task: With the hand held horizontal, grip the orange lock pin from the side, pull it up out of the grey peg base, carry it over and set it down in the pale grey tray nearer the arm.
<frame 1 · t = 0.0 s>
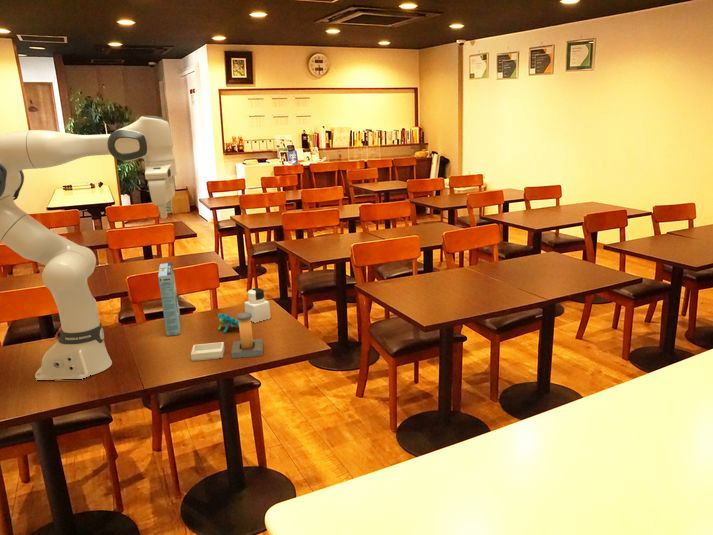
hand: (166, 215, 182), 48 cm above the table, tool pointing down, fingers open, 8 cm apart
lock pin: (245, 333, 196), in the grey peg base
tray: (208, 354, 196), on the table
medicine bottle: (258, 319, 228), on the table
gum box: (173, 327, 224), on the table
teal toy dinosaur: (230, 330, 218), on the table
grey peg base: (247, 351, 198), on the table
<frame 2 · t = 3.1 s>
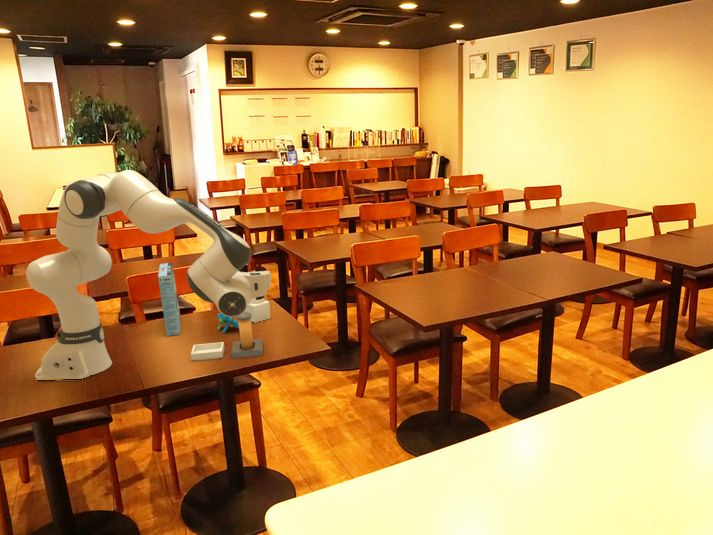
hand: (237, 274, 179), 30 cm above the table, tool horizontal, fingers open, 8 cm apart
nothing on the table moved.
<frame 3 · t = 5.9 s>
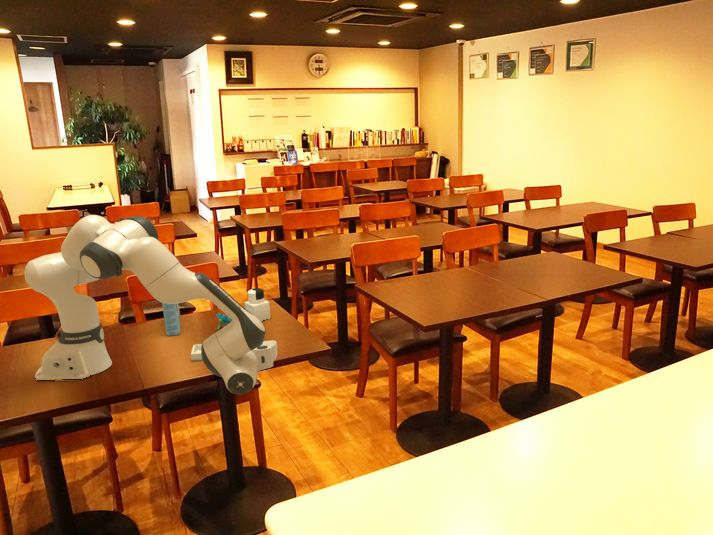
hand: (244, 342, 186), 7 cm above the table, tool horizontal, fingers open, 8 cm apart
nothing on the table moved.
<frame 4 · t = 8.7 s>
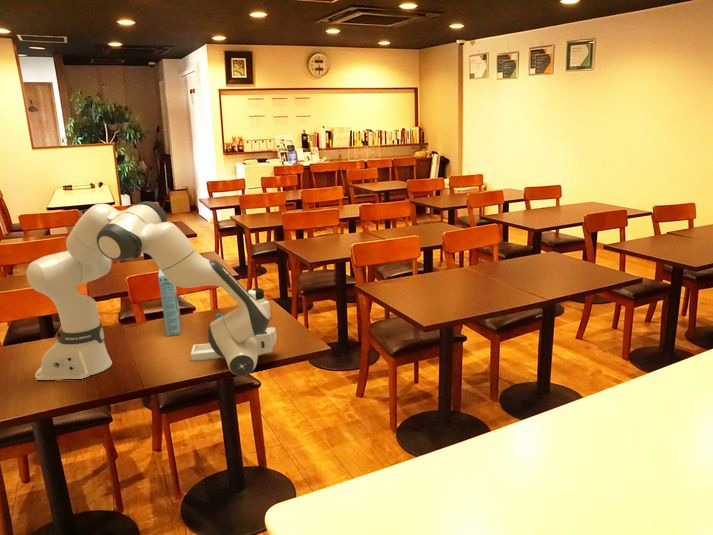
hand: (245, 329, 197), 8 cm above the table, tool horizontal, fingers closed on lock pin, 4 cm apart
lock pin: (245, 333, 196), in the grey peg base, touching gripper
everything else where it was.
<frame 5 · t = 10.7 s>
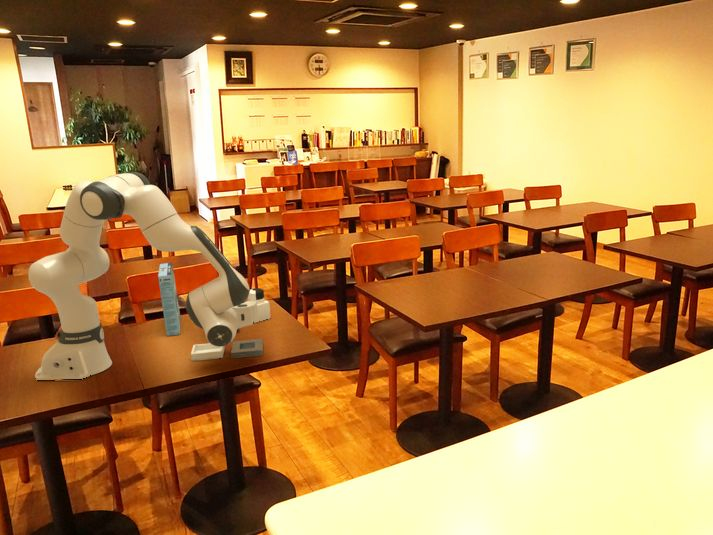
hand: (226, 303, 193), 17 cm above the table, tool horizontal, fingers closed on lock pin, 4 cm apart
lock pin: (226, 307, 193), point 16 cm above the table, touching gripper
when the fingers open (10 cm above the table, at t = 13.2 s): lock pin drops 2 cm, resting on tray.
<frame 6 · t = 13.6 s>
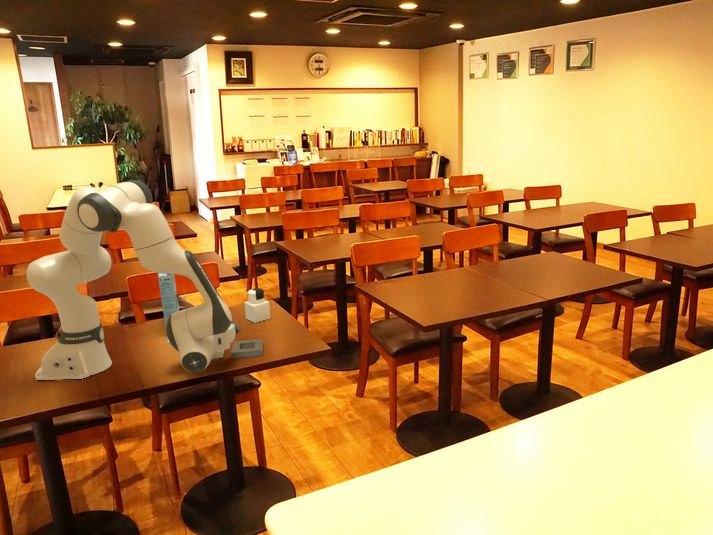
hand: (205, 326, 194), 10 cm above the table, tool horizontal, fingers open, 8 cm apart
lock pin: (205, 335, 194), in the tray, point 7 cm above the table
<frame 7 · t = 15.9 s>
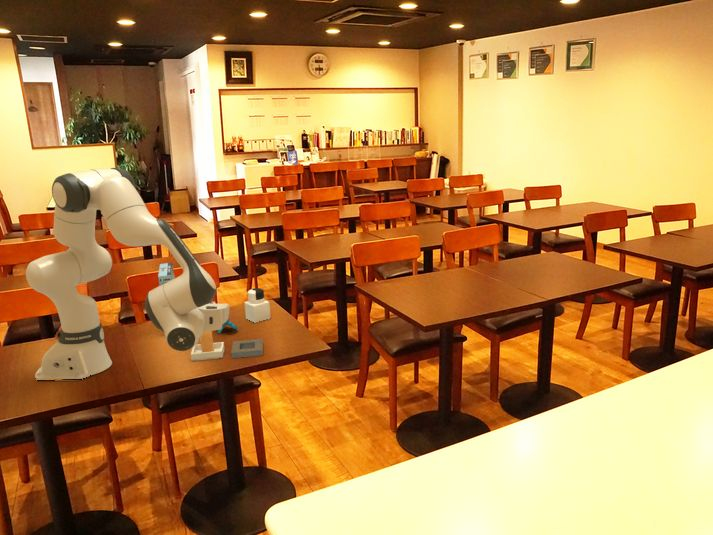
hand: (197, 304, 178), 22 cm above the table, tool horizontal, fingers open, 8 cm apart
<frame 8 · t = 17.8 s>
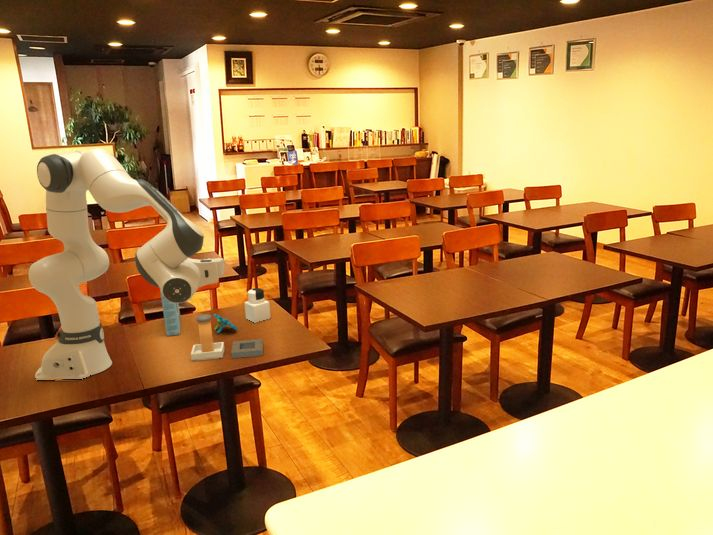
hand: (191, 262, 176), 35 cm above the table, tool horizontal, fingers open, 8 cm apart
at the end: lock pin inside the target area on the tray (0.0 cm from its centre), point 7.1 cm above the tray's base; the gripper is holding nothing; lock pin moved 13.0 cm from its start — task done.
